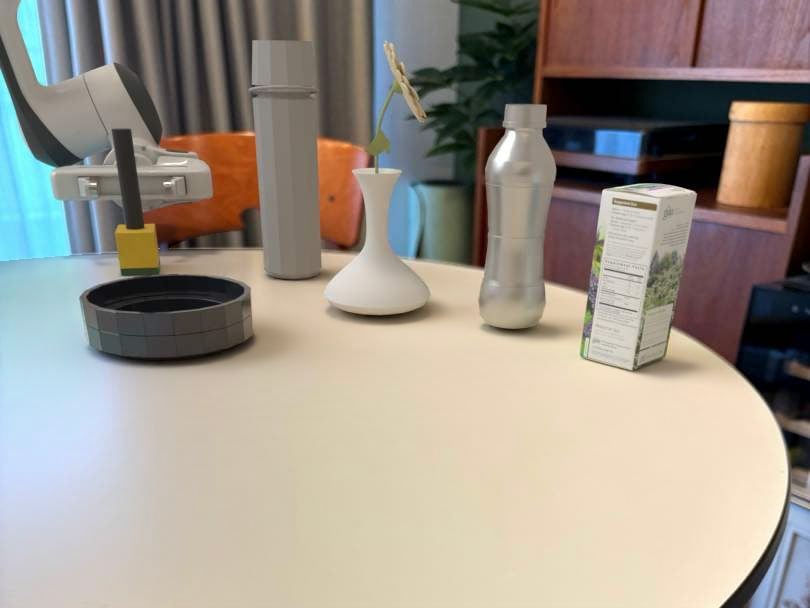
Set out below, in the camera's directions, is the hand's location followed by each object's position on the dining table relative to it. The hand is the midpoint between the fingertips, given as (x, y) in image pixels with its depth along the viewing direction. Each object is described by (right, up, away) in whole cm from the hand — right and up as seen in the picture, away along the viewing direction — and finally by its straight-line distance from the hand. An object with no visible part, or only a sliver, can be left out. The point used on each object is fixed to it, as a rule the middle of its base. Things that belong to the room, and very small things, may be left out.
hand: (131, 190), depth 103 cm
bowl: (+12, -25, -24) cm, 37 cm away
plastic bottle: (+45, -22, -19) cm, 54 cm away
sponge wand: (+1, -9, +2) cm, 10 cm away
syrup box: (+54, -27, -28) cm, 67 cm away
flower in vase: (+31, -19, -13) cm, 39 cm away
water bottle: (+20, -10, +1) cm, 22 cm away
